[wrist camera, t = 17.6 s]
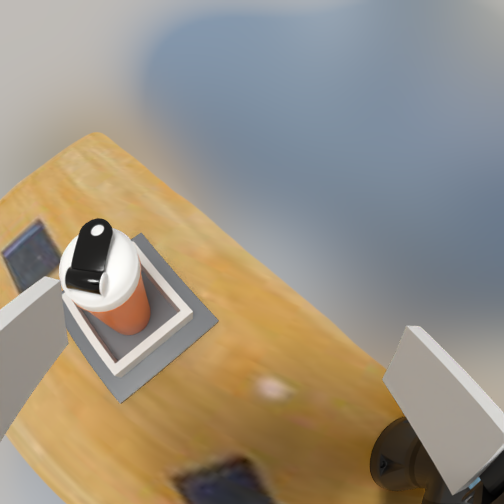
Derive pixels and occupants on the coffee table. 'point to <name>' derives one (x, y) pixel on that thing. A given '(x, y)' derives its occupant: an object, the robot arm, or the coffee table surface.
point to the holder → (151, 337)
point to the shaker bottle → (106, 277)
